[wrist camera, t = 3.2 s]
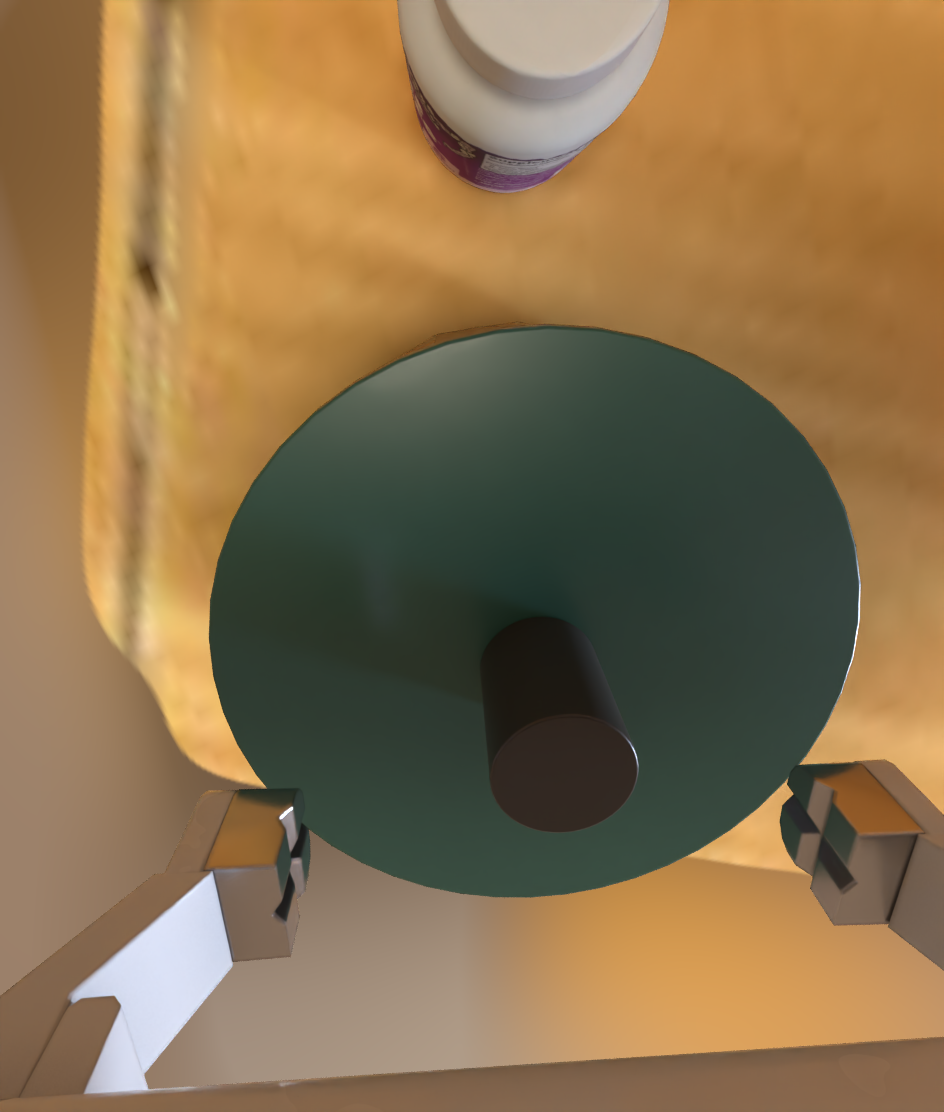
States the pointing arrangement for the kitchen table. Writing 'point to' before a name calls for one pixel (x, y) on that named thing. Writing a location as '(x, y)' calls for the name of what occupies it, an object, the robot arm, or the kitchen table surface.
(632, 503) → the lid
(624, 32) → the pill bottle
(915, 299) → the kitchen table surface
